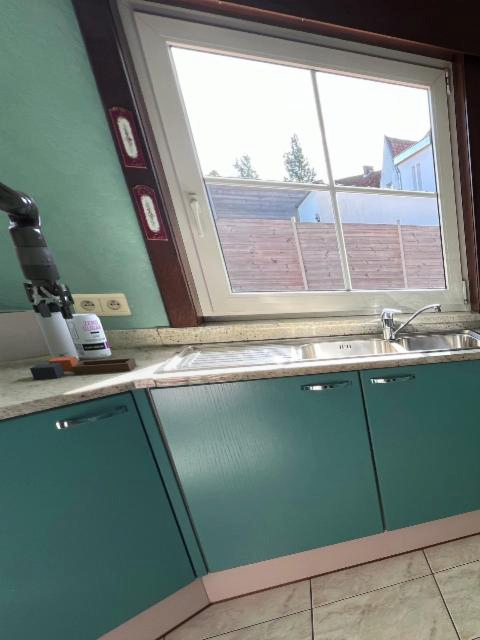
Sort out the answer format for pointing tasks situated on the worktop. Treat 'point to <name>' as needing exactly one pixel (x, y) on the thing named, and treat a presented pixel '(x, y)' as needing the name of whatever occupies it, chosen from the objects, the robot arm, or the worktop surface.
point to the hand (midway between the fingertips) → (57, 318)
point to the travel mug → (56, 332)
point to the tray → (104, 366)
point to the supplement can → (88, 336)
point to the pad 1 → (47, 371)
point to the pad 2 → (65, 362)
